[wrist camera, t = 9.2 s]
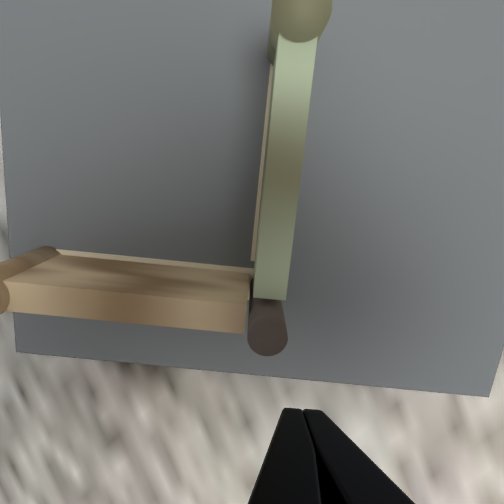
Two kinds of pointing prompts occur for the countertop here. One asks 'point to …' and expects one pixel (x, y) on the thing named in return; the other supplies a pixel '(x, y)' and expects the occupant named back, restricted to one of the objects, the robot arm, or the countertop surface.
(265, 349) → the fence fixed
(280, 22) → the folding panel
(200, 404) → the countertop surface
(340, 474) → the robot arm
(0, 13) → the card
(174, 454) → the countertop surface
